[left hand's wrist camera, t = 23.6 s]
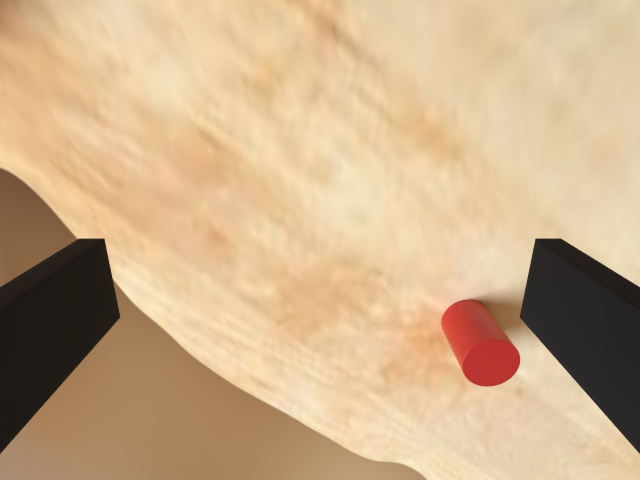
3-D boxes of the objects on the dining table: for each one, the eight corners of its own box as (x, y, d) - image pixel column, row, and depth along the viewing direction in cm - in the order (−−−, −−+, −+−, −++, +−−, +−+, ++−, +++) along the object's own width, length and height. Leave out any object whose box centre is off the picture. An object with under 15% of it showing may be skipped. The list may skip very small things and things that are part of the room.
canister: (431, 318, 46) (451, 361, 39) (472, 290, 45) (500, 329, 38) (458, 349, 48) (482, 395, 41) (499, 323, 46) (531, 366, 39)
